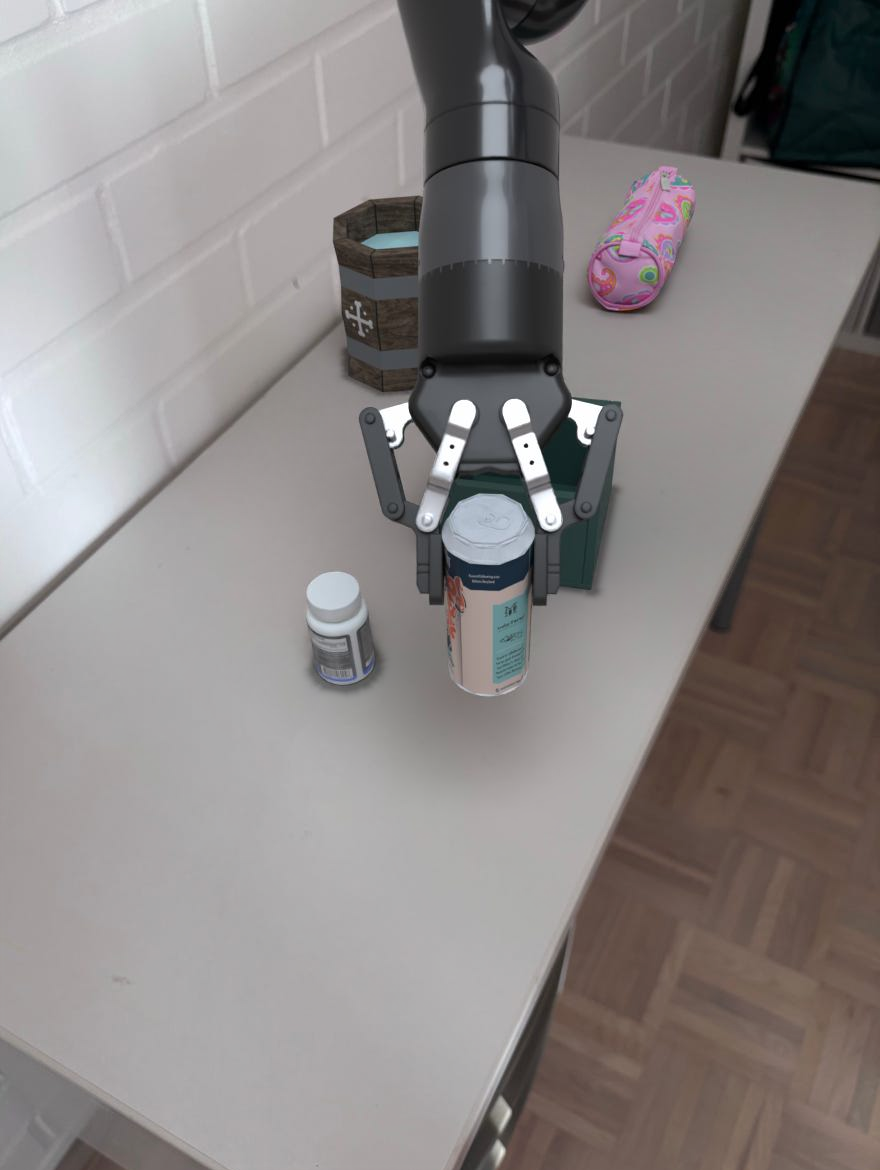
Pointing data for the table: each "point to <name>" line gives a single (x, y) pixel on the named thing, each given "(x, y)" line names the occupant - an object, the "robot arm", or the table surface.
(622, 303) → the pencil case
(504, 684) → the beer can
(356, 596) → the pill bottle
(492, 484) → the bin
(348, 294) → the mug
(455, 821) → the table surface
